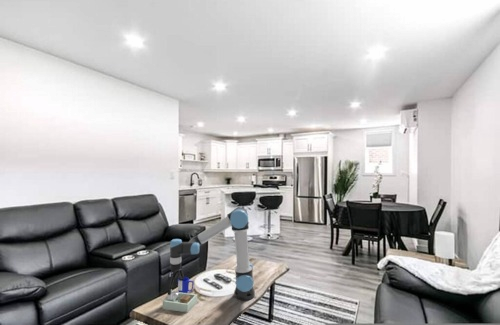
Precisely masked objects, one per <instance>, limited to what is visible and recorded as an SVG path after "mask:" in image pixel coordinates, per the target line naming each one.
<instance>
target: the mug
mask: <svg viewBox="0 0 500 325" xmlns="http://www.w3.org/2000/svg"><path fill="white" fill-rule="evenodd" d="M183 279H184V280H182V291H180V290H178V289H177V292H181V293H188V292H192V291H193V289H194V280H190V278H189V277H186V276H184V278H183ZM178 281H179V279H178V278H177V282H178ZM190 283H192V284H191V289H189V287H190Z"/></svg>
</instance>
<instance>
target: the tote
mask: <svg viewBox="0 0 500 325" xmlns="http://www.w3.org/2000/svg"><path fill="white" fill-rule="evenodd" d="M184 295H186V296H191V300H190V301H189V302H188V303H187V304H186V303H180V298H182V297H183V296H184ZM197 303H198V294H197V293H196V294H195V293H188V292H187V293H181V292H179V302H172V301H171V300H170V299H168V296H167V297H165V299H163V300H162V310H168V311H175V312H181V313H189V312H190V311H191V310H192V308H194V307H195V305H196V304H197Z"/></svg>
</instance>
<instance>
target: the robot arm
mask: <svg viewBox="0 0 500 325" xmlns="http://www.w3.org/2000/svg"><path fill="white" fill-rule="evenodd" d="M248 215H249V214H248V212H247V210H246V209H245V208H244V207H242V206H240V207H236V208H234V209H233V210H232V211H230V212H229V213H228V214H227V215H226V216H225V217H223V218H222V219H221V220H219V221H218V222H216V223H214V224H213V225H211V226H210V227H208V228H207V229H205V230H203V231H201V232H200V233H199V234H197V235H195V236H193V237H191V238H190V239H189V241H188V242H183V240H182V239H180V238H173V239H172V240H170V242H169V243H170V246H169V270H170V271H171V272H169V273H168V276H167V281H166V286H165V290H166V291H167V297H168V299H170V300H172V292H173V289H172V288H173V285H174V282H175V280H176V279H177V291H178V290H180V291H182V280H184V279H183V278H184V277H185V275H184V272H183V267H182V255H198V254H199V253H200V248H201V247H200V246H202V245H204V244H205V243H207V242H208V241H210V240H211V239H213V238H215V237H216V236H218V235H219V234H221V233H223V232H224V231H226V230H227V229H229V228H230V227H231V231H232V232H233V233H234V235H233V236H234V243H235V244H234V245H235V246H234V247H235V255H236V256H235V258H236V268H235V269H234V270H235V271H234V272H235V273H234V274H235V289H234V291H233V296H234V298H236V299H237V300H240V301H250V300H252V299H253V298H255V297H256V296H255V294H256V291H255V288H254V273H253V272H254V271H253V270H254V267H253V263H251V262H250V254H249V244H248V243H249V242H248V241H249V240H248V230H249V229H250V228H249V216H248ZM178 279H179V281H178Z"/></svg>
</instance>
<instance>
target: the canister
mask: <svg viewBox="0 0 500 325" xmlns="http://www.w3.org/2000/svg"><path fill="white" fill-rule="evenodd" d="M171 301H172V302H179V292H178V290H177V291H172V300H171Z"/></svg>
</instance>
